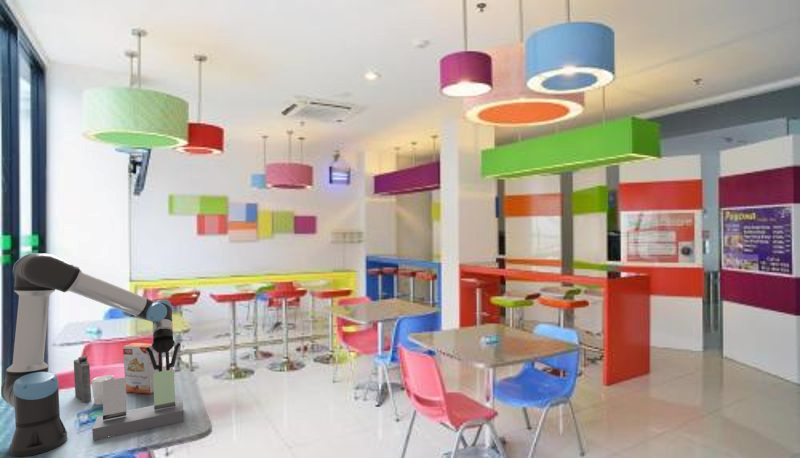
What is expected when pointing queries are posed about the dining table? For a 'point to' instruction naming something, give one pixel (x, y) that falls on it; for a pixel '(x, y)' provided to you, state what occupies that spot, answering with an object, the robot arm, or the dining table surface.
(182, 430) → the dining table surface
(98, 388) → the white cup
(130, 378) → the cracker box
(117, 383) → the light grey rectangular slab
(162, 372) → the pale green flat slab
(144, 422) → the panel
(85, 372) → the flask
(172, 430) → the dining table surface
